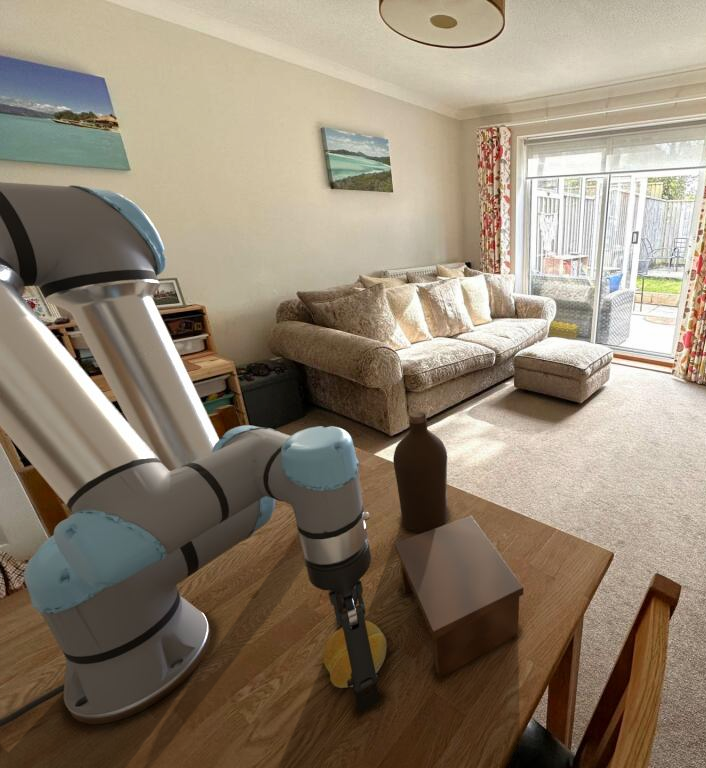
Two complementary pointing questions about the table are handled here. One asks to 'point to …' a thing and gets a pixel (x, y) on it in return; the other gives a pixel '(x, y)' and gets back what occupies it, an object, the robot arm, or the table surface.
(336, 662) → the bread roll
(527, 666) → the table surface
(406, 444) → the olive oil
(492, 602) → the block
